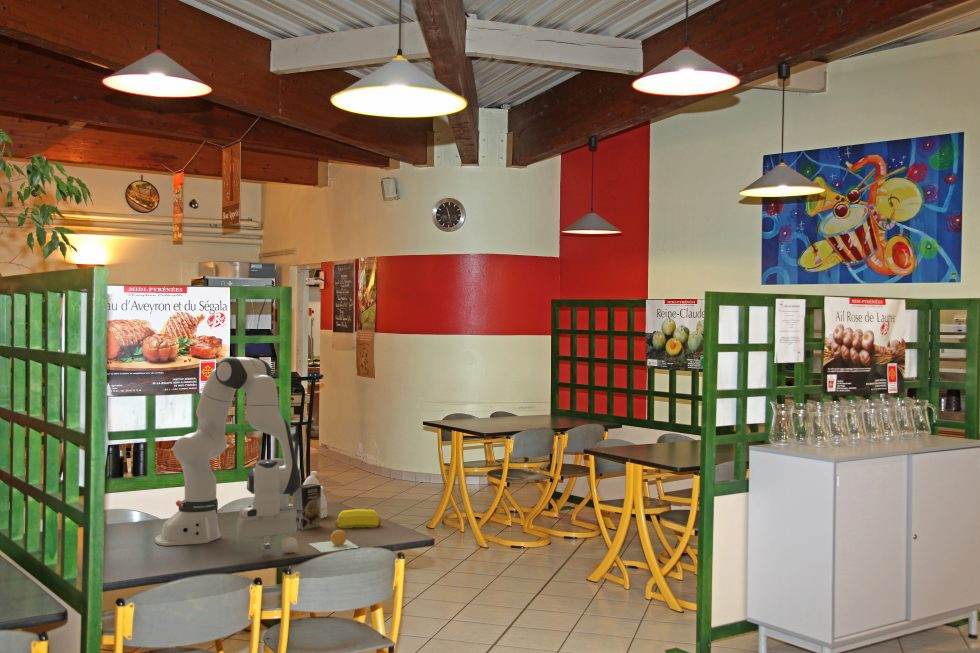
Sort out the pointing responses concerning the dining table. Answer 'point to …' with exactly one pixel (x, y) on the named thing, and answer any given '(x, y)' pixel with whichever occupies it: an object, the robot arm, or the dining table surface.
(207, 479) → the robot arm
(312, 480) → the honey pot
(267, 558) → the dining table surface
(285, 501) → the tall pale column
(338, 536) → the object ball
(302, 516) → the coffee box
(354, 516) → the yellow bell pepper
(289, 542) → the cue ball
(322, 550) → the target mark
